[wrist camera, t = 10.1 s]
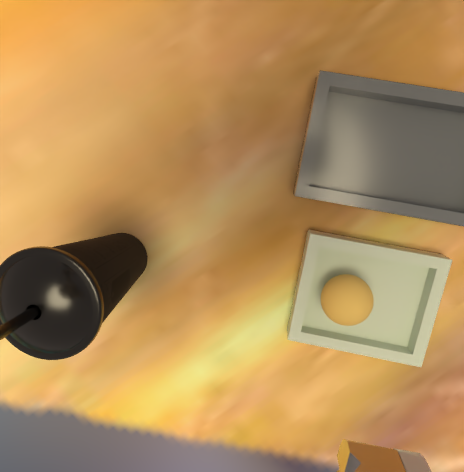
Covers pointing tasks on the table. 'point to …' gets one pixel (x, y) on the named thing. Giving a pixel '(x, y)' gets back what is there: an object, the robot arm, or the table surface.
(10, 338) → the drinking cup
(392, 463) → the robot arm
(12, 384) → the table surface
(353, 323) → the ball
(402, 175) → the dish
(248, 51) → the table surface
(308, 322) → the tray
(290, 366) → the table surface
